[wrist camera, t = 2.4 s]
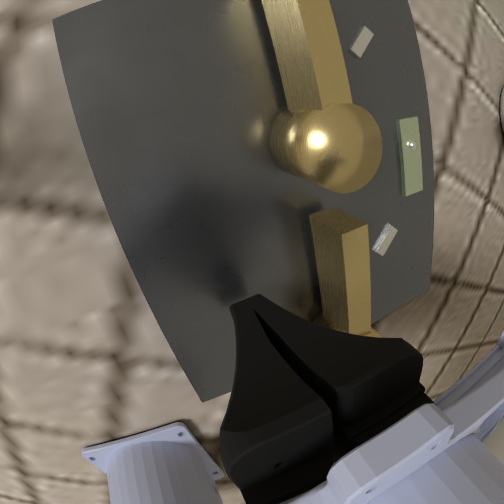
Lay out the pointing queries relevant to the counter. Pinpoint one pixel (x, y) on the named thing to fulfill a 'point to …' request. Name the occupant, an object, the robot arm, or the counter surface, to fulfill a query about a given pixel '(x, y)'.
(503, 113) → the cup
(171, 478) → the robot arm
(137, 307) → the counter surface
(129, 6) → the base plate
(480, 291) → the counter surface
